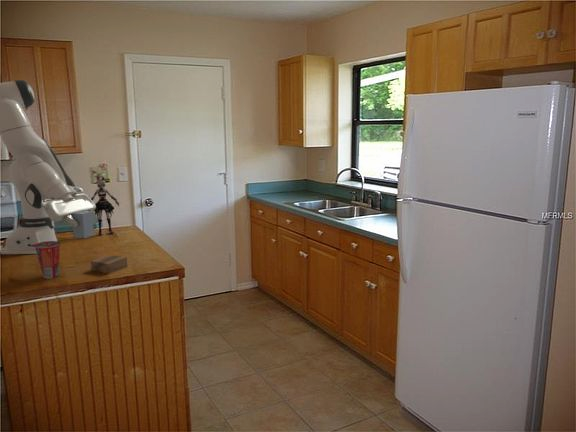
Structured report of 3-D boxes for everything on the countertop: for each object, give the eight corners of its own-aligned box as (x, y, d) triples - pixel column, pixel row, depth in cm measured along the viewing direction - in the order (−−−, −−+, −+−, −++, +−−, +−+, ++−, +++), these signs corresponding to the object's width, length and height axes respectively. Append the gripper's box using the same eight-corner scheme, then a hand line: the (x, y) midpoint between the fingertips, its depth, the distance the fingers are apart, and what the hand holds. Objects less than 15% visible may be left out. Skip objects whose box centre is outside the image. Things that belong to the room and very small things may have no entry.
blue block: (73, 237, 177) (71, 213, 176) (83, 234, 182) (81, 211, 180) (84, 238, 176) (82, 214, 174) (94, 235, 180) (92, 211, 179)
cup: (58, 270, 178) (54, 239, 175) (67, 275, 172) (64, 243, 170) (31, 276, 171) (27, 244, 169) (40, 282, 166) (36, 249, 163)
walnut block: (91, 271, 178) (90, 261, 177) (110, 264, 186) (109, 254, 185) (109, 274, 174) (108, 264, 173) (127, 267, 182) (126, 257, 181)
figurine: (90, 237, 227) (83, 174, 221) (89, 234, 233) (83, 173, 227) (122, 233, 234) (117, 172, 228) (120, 230, 239) (115, 171, 233)
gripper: (42, 194, 168) (67, 223, 167) (84, 187, 187) (107, 213, 186) (34, 206, 171) (58, 235, 169) (76, 198, 190) (98, 224, 188)
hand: (84, 223), depth 178 cm, fingers closed on blue block, 5 cm apart
